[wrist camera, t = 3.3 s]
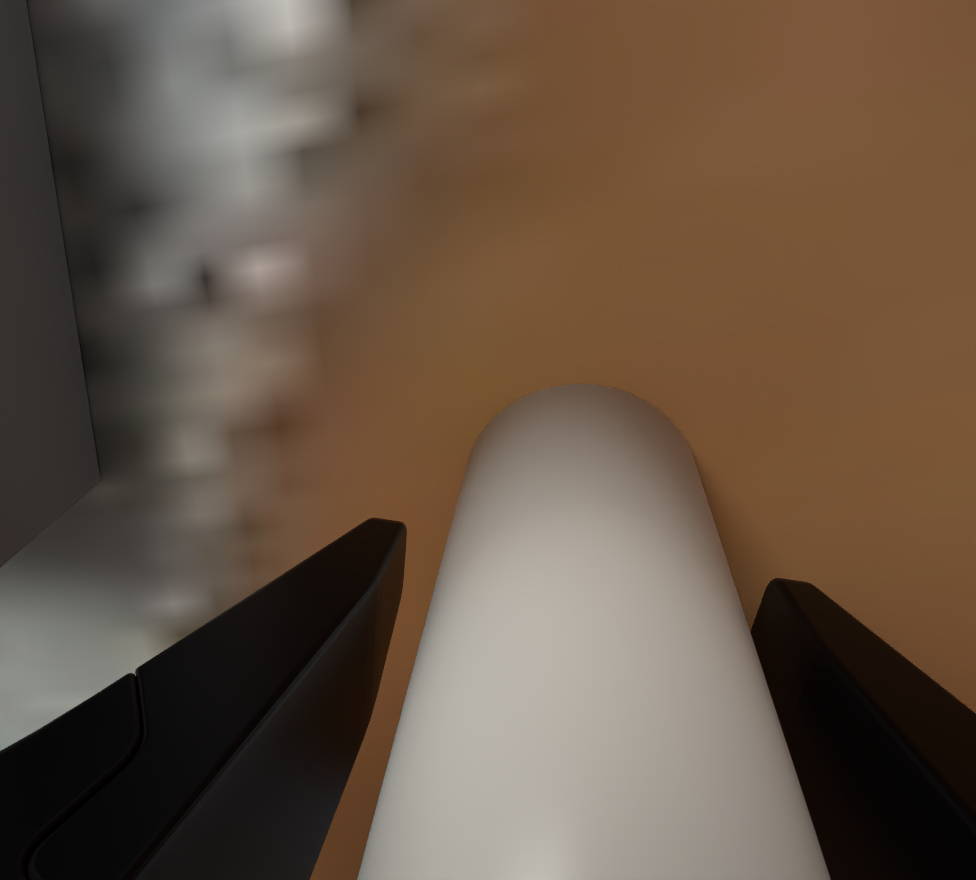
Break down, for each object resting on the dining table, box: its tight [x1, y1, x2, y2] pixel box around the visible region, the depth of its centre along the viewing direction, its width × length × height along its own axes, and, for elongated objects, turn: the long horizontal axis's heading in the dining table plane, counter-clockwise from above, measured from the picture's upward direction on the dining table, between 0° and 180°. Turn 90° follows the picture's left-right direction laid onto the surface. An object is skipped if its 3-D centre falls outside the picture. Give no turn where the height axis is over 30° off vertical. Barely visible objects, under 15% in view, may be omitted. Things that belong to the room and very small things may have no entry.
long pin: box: [357, 384, 831, 880], centre depth 7 cm, size 3×3×8 cm
